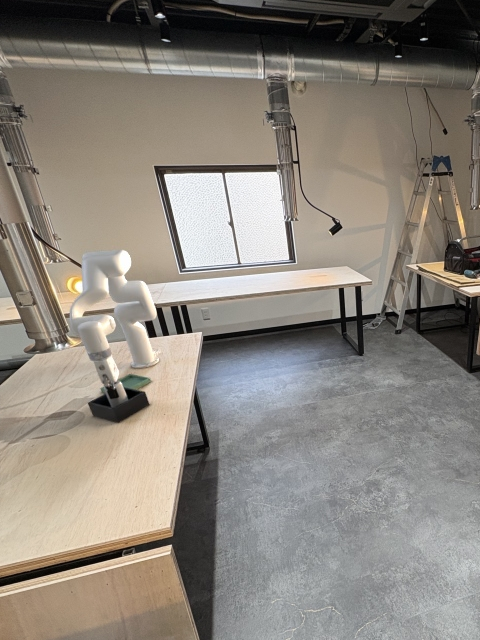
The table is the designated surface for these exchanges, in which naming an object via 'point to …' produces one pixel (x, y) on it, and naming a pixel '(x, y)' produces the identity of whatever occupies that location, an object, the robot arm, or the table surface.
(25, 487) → the table surface
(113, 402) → the beverage can
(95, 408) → the open box
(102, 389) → the tray
